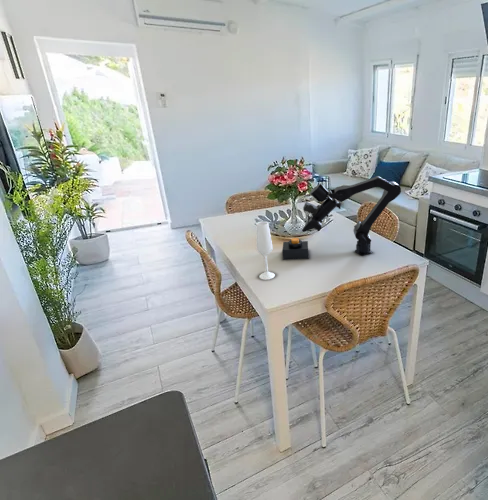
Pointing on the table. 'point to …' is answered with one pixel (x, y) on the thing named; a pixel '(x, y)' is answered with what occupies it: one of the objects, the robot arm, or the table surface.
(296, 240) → the switch button
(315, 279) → the table surface
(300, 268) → the table surface
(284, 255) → the switch box
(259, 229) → the champagne flute
